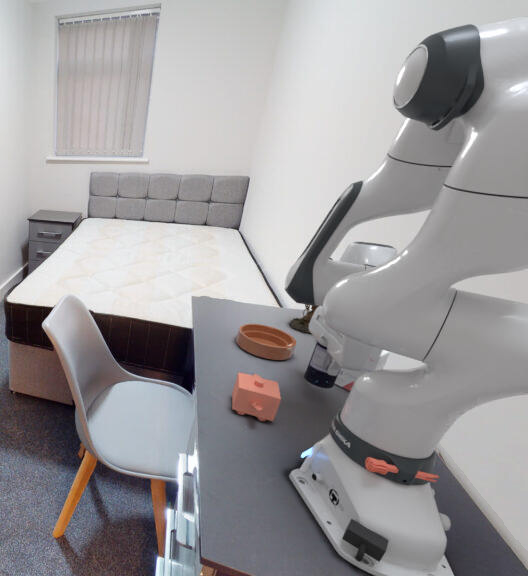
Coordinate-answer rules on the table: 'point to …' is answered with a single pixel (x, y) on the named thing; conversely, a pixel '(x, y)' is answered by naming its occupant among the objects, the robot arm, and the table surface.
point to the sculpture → (304, 319)
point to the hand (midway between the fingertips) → (324, 366)
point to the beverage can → (320, 367)
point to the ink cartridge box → (374, 363)
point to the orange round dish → (266, 341)
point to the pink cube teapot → (256, 396)
